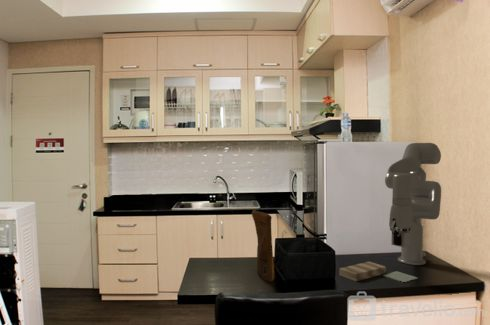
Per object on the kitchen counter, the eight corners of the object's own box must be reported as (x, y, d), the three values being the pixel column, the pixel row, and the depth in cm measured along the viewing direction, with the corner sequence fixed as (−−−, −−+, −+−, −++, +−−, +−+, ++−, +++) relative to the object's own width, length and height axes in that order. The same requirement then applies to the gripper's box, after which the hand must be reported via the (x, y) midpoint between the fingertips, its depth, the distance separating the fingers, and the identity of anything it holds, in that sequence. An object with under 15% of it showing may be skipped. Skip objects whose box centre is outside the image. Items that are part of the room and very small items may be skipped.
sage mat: (396, 272, 161) (396, 271, 161) (417, 278, 152) (417, 277, 152) (382, 275, 155) (382, 274, 155) (403, 282, 147) (403, 281, 147)
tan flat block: (368, 267, 166) (368, 261, 166) (385, 273, 159) (385, 266, 159) (339, 275, 156) (339, 268, 156) (355, 281, 148) (355, 274, 148)
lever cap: (397, 243, 157) (398, 229, 157) (410, 246, 152) (410, 232, 152) (391, 244, 155) (391, 230, 155) (404, 247, 150) (404, 233, 150)
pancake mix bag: (262, 284, 144) (263, 215, 143) (250, 269, 162) (250, 208, 162) (278, 282, 145) (279, 214, 145) (264, 268, 164) (265, 208, 163)
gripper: (405, 200, 161) (404, 240, 161) (381, 202, 152) (380, 244, 152) (421, 202, 155) (420, 243, 155) (397, 204, 146) (396, 248, 146)
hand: (400, 243), depth 154 cm, fingers closed on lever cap, 4 cm apart
